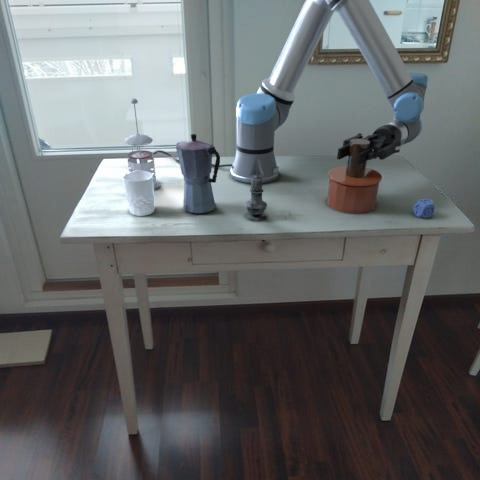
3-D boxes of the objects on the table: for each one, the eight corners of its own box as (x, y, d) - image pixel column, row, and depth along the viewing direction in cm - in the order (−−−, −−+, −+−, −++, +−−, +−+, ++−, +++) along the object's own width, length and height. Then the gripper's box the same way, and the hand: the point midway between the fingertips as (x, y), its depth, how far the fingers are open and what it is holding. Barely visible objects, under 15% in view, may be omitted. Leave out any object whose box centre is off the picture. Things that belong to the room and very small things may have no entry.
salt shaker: (264, 222, 128) (266, 178, 121) (243, 220, 129) (243, 176, 122) (268, 213, 133) (270, 170, 126) (247, 211, 134) (248, 168, 127)
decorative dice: (412, 213, 134) (415, 199, 131) (424, 211, 135) (428, 197, 132) (420, 219, 131) (423, 205, 128) (433, 217, 131) (436, 203, 129)
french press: (132, 193, 143) (120, 104, 128) (123, 180, 152) (110, 95, 137) (163, 188, 147) (155, 100, 132) (153, 176, 155) (144, 92, 140)
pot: (317, 204, 138) (320, 178, 134) (342, 190, 146) (345, 166, 142) (360, 217, 131) (364, 191, 127) (383, 202, 139) (388, 177, 135)
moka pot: (191, 196, 142) (187, 126, 130) (233, 209, 135) (232, 136, 123) (169, 207, 136) (162, 134, 124) (211, 221, 129) (209, 145, 117)
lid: (318, 179, 134) (322, 141, 127) (345, 166, 143) (350, 130, 136) (364, 193, 126) (371, 153, 120) (390, 178, 135) (398, 140, 129)
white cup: (131, 205, 137) (126, 170, 131) (158, 205, 137) (155, 170, 131) (125, 216, 130) (119, 180, 125) (154, 217, 130) (150, 181, 124)
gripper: (415, 157, 138) (377, 179, 124) (359, 144, 148) (317, 163, 134) (421, 130, 134) (383, 149, 120) (363, 118, 143) (320, 135, 129)
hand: (348, 156), depth 127 cm, fingers closed on lid, 5 cm apart
